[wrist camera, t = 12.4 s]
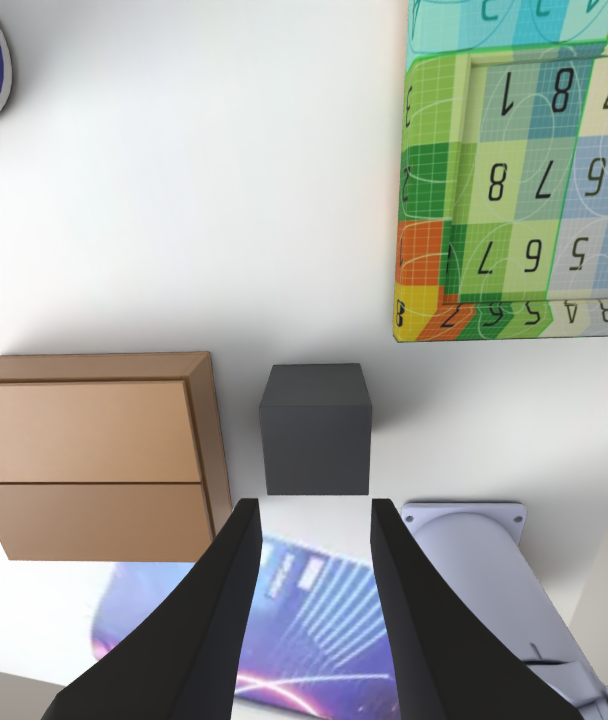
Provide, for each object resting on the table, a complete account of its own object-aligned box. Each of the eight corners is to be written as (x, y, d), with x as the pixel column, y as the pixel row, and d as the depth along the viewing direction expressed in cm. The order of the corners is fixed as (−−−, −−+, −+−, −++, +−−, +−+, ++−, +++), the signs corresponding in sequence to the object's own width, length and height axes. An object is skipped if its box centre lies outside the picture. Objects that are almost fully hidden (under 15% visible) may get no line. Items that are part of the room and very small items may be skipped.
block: (357, 437, 21) (368, 495, 17) (278, 438, 22) (267, 495, 17) (359, 363, 20) (372, 405, 15) (272, 364, 20) (258, 406, 15)
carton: (232, 510, 24) (216, 563, 20) (56, 509, 25) (8, 561, 21) (209, 351, 20) (183, 381, 16) (-3, 355, 20) (-76, 385, 17)
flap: (216, 558, 20) (215, 562, 20) (13, 556, 21) (8, 560, 21) (202, 480, 18) (200, 484, 18) (-23, 480, 19) (-28, 484, 19)
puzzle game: (1090, -663, 7) (701, 341, 14) (780, -305, 11) (608, 313, 18) (457, -555, 7) (402, 349, 14) (405, -258, 12) (383, 321, 19)
